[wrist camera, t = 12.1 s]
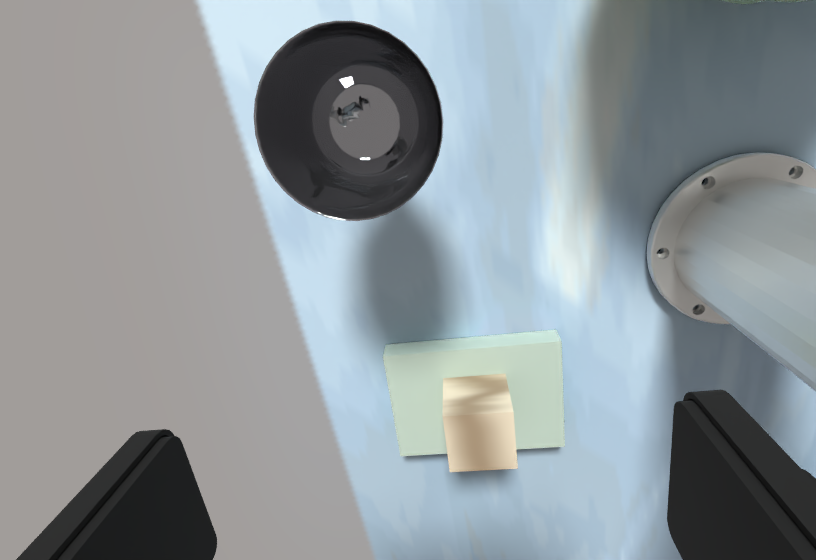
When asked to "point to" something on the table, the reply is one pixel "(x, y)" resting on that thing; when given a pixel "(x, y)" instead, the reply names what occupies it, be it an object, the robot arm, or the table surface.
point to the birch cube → (479, 423)
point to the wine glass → (348, 120)
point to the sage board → (472, 356)
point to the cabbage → (754, 0)
